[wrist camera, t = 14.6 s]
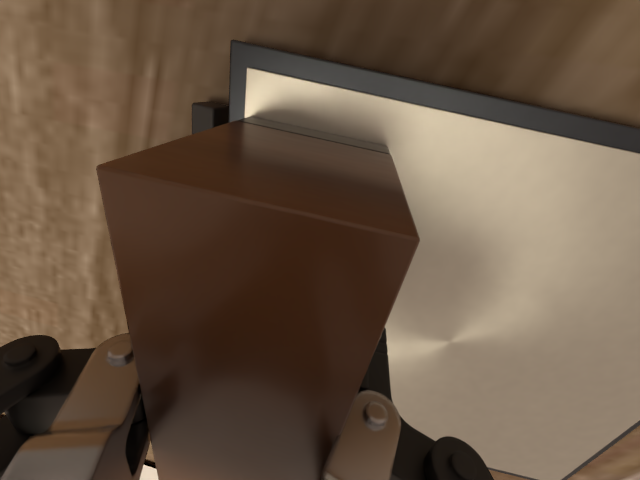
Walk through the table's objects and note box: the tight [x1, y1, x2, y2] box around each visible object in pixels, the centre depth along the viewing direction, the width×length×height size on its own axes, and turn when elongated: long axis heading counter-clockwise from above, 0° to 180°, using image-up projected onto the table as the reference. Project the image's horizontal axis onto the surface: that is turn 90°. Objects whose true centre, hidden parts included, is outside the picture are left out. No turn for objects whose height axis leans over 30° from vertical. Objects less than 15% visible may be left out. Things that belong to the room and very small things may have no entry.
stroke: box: [192, 102, 229, 134], centre depth 11 cm, size 4×1×1 cm
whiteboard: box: [228, 40, 640, 480], centre depth 13 cm, size 18×20×1 cm
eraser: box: [96, 116, 420, 480], centre depth 9 cm, size 12×4×6 cm, turn 169°
